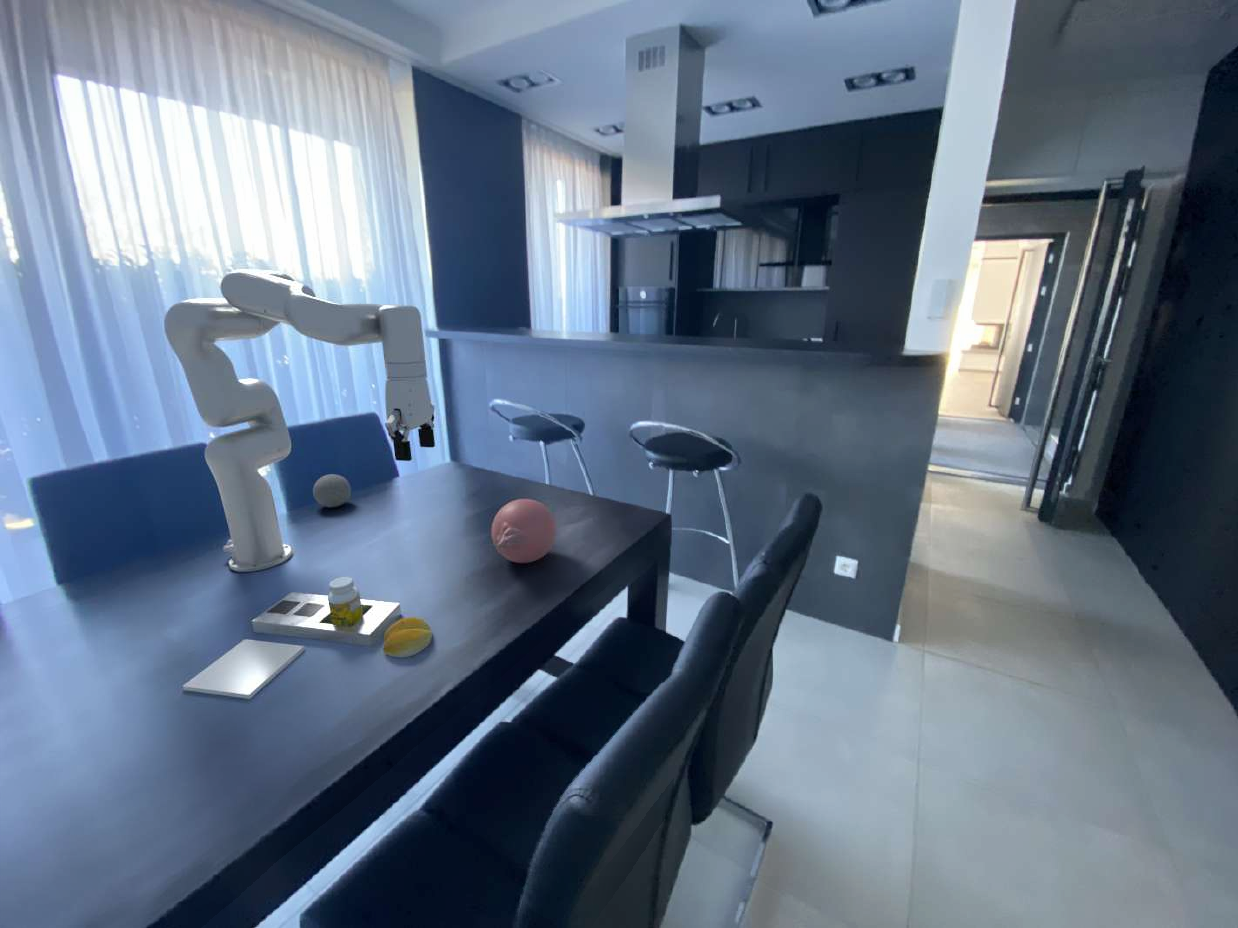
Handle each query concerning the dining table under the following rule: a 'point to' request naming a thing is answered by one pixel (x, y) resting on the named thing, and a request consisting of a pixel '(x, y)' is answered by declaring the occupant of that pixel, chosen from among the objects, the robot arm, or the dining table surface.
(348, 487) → the decorative ball
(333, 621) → the supplement bottle
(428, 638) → the bread roll
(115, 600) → the dining table surface
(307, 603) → the grey board with squares
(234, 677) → the plate
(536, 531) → the balloon
